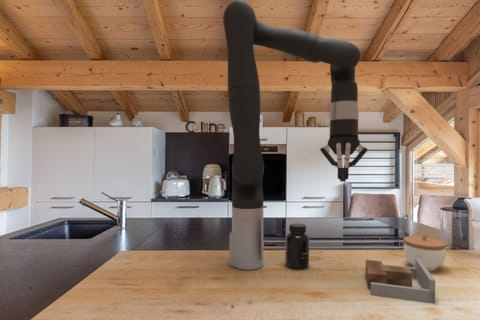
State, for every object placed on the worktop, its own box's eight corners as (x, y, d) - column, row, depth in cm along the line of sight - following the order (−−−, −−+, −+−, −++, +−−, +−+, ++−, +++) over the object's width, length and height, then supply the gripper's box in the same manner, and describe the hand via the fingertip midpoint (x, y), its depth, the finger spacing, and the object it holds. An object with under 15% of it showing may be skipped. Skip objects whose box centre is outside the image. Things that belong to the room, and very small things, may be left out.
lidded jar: (405, 270, 87) (405, 237, 86) (401, 258, 96) (401, 229, 96) (450, 276, 83) (450, 241, 82) (441, 263, 92) (441, 232, 92)
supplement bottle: (309, 271, 86) (309, 228, 86) (284, 269, 88) (284, 227, 87) (308, 262, 93) (309, 222, 93) (286, 260, 94) (286, 221, 94)
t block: (368, 289, 75) (368, 273, 75) (365, 274, 84) (365, 259, 84) (415, 295, 72) (415, 278, 71) (406, 278, 81) (406, 263, 81)
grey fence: (370, 294, 72) (371, 273, 72) (366, 271, 86) (366, 253, 86) (434, 303, 68) (435, 280, 68) (419, 277, 82) (419, 258, 82)
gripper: (318, 118, 85) (317, 181, 85) (370, 116, 80) (369, 183, 80) (320, 121, 92) (320, 179, 92) (368, 119, 87) (368, 181, 87)
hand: (343, 181), depth 86 cm, fingers closed
